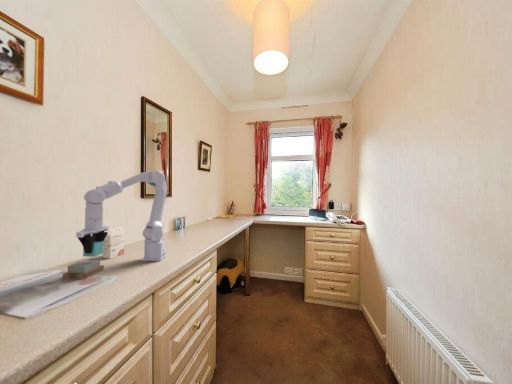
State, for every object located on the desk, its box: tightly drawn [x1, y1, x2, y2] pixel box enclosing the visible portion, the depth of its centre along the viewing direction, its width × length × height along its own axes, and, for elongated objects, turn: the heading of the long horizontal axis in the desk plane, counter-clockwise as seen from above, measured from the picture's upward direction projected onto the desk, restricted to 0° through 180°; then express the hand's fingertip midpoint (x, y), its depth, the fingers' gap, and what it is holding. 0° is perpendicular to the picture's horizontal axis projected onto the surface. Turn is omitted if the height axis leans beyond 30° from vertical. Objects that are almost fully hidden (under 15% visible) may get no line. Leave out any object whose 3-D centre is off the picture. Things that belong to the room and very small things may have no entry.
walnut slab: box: [62, 264, 105, 279], centre depth 81 cm, size 9×9×2 cm
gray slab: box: [67, 259, 101, 273], centre depth 81 cm, size 7×7×2 cm
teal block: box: [82, 241, 103, 258], centre depth 83 cm, size 4×4×5 cm
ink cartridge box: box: [101, 226, 125, 260], centre depth 104 cm, size 9×5×15 cm, turn 168°
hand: (93, 251), depth 83 cm, fingers closed on teal block, 4 cm apart
